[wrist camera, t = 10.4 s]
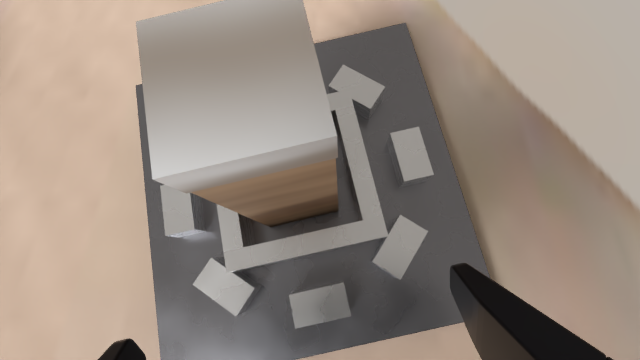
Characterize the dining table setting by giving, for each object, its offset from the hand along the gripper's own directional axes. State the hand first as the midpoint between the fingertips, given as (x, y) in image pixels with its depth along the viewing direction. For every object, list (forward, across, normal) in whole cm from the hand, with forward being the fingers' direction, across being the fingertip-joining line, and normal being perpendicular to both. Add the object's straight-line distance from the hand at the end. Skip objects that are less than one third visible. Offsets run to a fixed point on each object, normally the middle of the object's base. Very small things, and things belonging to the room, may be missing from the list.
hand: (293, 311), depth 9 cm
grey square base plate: (+11, 0, +3) cm, 11 cm away
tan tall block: (+10, 0, +2) cm, 11 cm away
